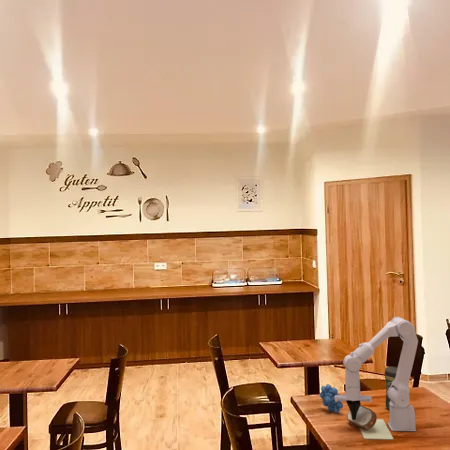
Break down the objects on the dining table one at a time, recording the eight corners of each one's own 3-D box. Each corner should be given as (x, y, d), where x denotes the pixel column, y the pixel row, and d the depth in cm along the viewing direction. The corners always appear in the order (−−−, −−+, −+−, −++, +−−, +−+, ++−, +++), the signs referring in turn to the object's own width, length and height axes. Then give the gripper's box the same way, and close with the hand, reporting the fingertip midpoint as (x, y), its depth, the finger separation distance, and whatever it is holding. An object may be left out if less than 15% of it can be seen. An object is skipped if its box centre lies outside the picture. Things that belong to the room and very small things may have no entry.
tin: (369, 433, 193) (381, 415, 195) (364, 428, 192) (376, 410, 195) (347, 422, 207) (358, 405, 209) (342, 417, 206) (353, 401, 209)
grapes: (315, 411, 220) (314, 384, 220) (323, 407, 224) (322, 381, 225) (337, 417, 212) (336, 389, 212) (345, 413, 216) (345, 386, 217)
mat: (382, 419, 208) (382, 419, 208) (393, 439, 188) (393, 438, 188) (356, 419, 209) (356, 418, 209) (364, 439, 189) (364, 438, 189)
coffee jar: (412, 409, 218) (410, 368, 219) (402, 414, 213) (401, 371, 214) (392, 404, 226) (391, 364, 226) (382, 408, 221) (381, 367, 221)
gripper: (369, 382, 203) (370, 415, 203) (333, 382, 204) (334, 415, 204) (372, 387, 196) (373, 422, 196) (335, 387, 197) (336, 421, 197)
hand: (353, 419), depth 199 cm, fingers closed
